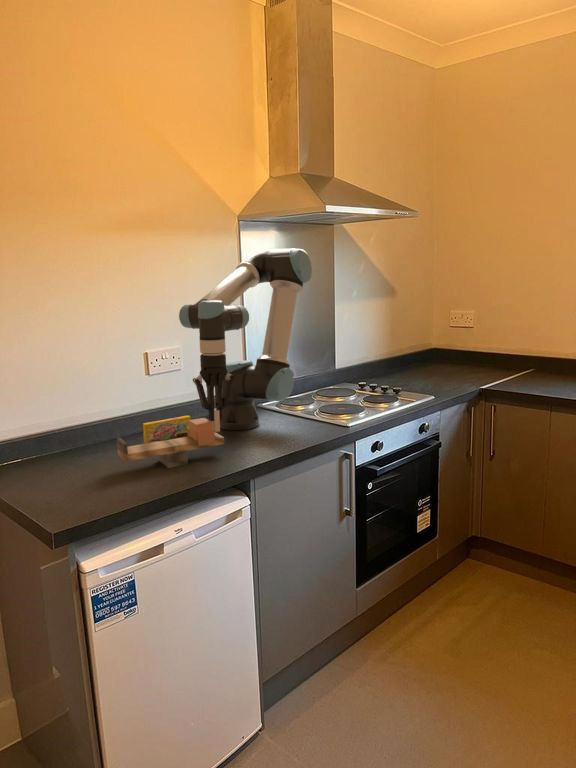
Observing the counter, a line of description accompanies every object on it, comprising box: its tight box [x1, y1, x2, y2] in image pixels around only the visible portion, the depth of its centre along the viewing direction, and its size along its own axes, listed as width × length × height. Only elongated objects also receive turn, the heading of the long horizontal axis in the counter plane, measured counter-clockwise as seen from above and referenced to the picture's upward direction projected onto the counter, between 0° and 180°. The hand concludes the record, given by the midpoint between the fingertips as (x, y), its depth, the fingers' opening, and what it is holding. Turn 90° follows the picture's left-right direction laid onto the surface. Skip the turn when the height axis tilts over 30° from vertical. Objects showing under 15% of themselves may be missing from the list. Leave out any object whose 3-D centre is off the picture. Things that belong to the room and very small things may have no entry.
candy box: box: [142, 414, 192, 444], centre depth 192 cm, size 16×2×8 cm, turn 128°
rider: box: [187, 417, 215, 446], centre depth 177 cm, size 5×9×6 cm, turn 30°
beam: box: [116, 431, 226, 469], centre depth 174 cm, size 30×8×9 cm, turn 120°
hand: (215, 430), depth 180 cm, fingers closed
